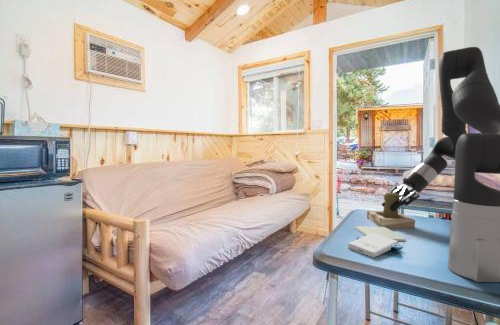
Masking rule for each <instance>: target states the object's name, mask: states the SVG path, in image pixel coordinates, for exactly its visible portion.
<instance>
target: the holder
mask: <svg viewBox="0 0 500 325" xmlns="http://www.w3.org/2000/svg"><path fill="white" fill-rule="evenodd" d="M382 215H383V210H367V212H366V219H367V220H369V219H370V220H369V221H372V222H373V224H376V225H378V227H386V228H388V229H391V228H393V229H394V228H395V229H396V228H398V229H406V228H407V229H416V228H415V227H416V219H414V218H412V217H409V216H408V215H406V214H403V213H401V212H399V211H398V217H399V218H384V217H383V216H382Z"/></svg>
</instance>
